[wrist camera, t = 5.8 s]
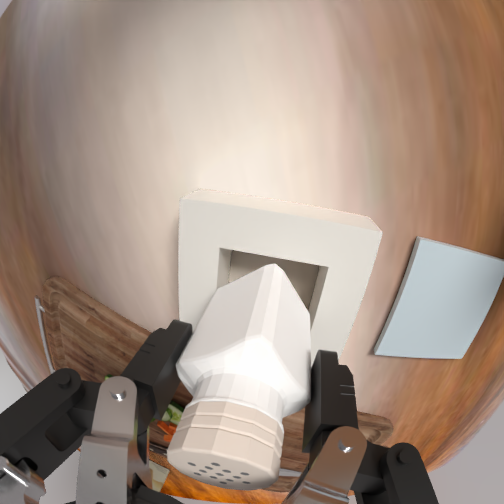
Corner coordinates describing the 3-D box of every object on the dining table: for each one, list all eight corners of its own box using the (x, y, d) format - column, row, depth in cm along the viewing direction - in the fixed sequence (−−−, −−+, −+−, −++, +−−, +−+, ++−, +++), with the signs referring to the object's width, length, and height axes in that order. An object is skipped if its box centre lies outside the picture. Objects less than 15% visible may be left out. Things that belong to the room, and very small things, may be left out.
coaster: (417, 235, 14) (420, 239, 14) (504, 259, 13) (508, 262, 13) (373, 349, 18) (374, 354, 17) (459, 354, 17) (461, 358, 16)
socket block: (200, 188, 16) (179, 198, 13) (368, 216, 15) (382, 232, 12) (195, 324, 20) (180, 349, 17) (328, 349, 19) (330, 378, 16)
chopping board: (418, 419, 21) (423, 440, 19) (301, 490, 32) (299, 504, 29) (36, 253, 22) (16, 264, 19) (58, 385, 33) (49, 396, 30)
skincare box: (170, 469, 35) (149, 519, 24) (165, 472, 37) (144, 519, 26) (138, 453, 35) (113, 502, 24) (135, 457, 37) (112, 503, 26)
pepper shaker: (251, 340, 15) (209, 493, 7) (212, 287, 14) (125, 440, 6) (314, 315, 14) (315, 489, 5) (277, 254, 13) (238, 437, 4)
